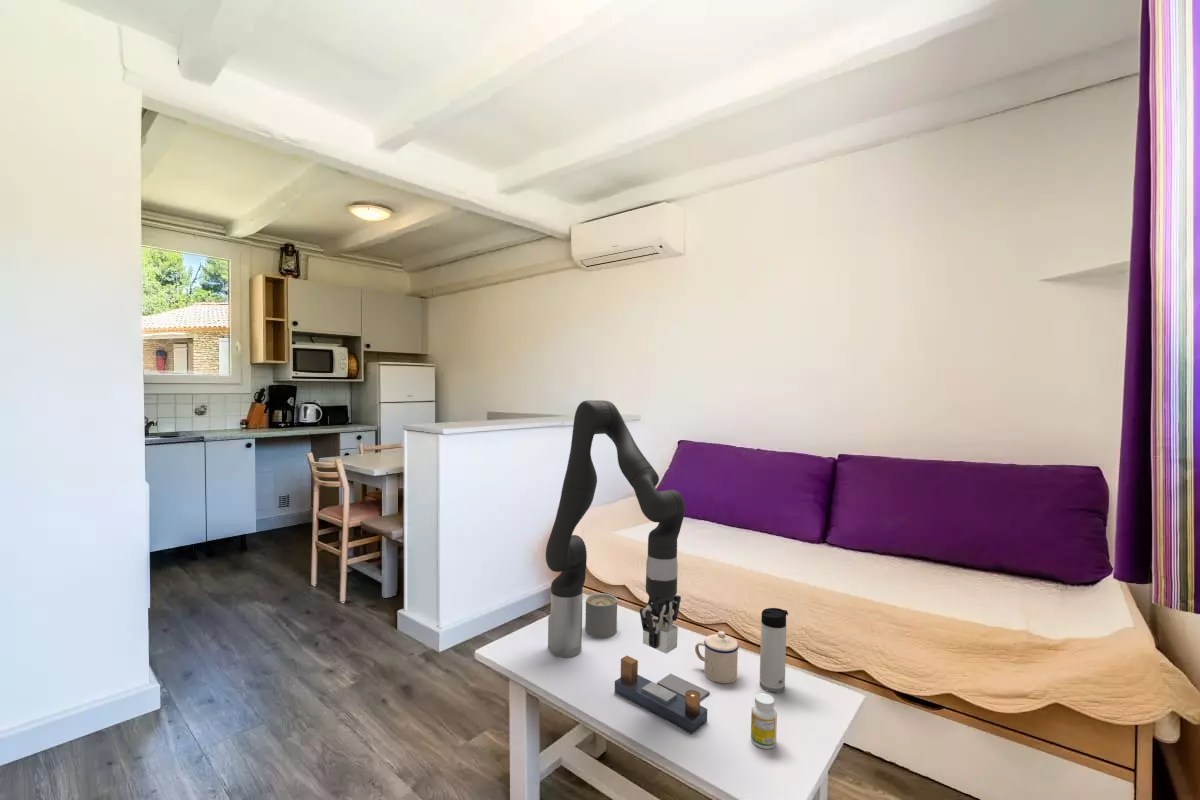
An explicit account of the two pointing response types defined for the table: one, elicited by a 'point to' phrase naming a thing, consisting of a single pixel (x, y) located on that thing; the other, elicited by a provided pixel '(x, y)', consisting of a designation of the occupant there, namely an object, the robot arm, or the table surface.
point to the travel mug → (773, 649)
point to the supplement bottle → (763, 721)
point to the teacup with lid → (719, 657)
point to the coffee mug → (601, 615)
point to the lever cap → (664, 637)
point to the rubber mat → (681, 686)
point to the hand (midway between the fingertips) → (659, 643)
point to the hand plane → (660, 698)
